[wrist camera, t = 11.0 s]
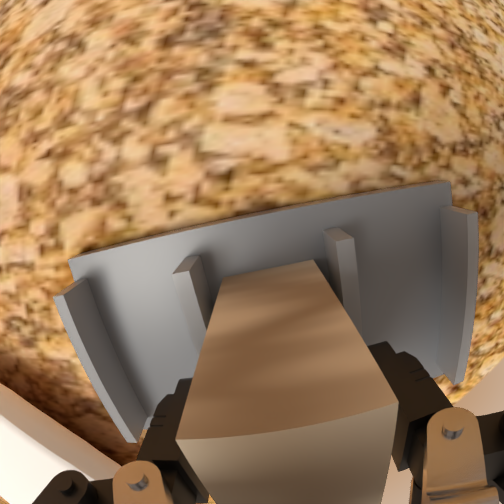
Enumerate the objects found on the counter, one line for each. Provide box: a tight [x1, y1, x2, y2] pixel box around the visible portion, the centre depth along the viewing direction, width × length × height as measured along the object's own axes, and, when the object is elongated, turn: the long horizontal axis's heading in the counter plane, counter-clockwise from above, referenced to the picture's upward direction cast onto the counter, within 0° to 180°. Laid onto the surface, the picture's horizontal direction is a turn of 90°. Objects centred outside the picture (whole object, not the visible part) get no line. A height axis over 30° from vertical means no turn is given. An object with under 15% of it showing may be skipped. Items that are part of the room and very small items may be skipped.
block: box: [175, 260, 399, 504], centre depth 9 cm, size 4×6×8 cm, turn 12°
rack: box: [53, 181, 479, 443], centre depth 12 cm, size 17×10×3 cm, turn 102°
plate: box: [0, 383, 122, 504], centre depth 15 cm, size 28×6×27 cm
